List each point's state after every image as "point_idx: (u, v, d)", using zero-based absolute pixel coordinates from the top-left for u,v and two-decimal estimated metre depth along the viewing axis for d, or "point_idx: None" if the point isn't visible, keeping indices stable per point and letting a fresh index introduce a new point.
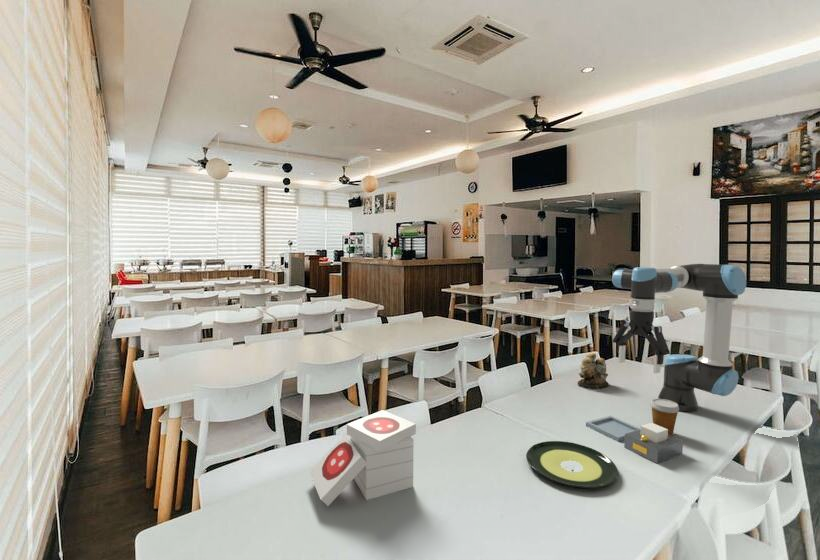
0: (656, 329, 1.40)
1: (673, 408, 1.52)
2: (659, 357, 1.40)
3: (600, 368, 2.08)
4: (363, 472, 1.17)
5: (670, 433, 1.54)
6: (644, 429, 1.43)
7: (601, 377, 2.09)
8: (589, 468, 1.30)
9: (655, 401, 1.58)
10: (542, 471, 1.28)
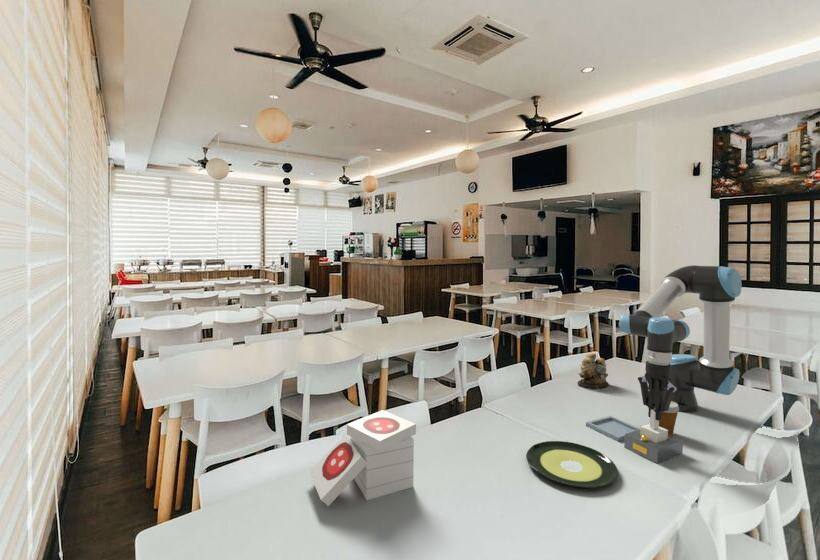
0: (671, 390, 1.35)
1: (673, 408, 1.52)
2: (657, 413, 1.40)
3: (600, 368, 2.08)
4: (363, 472, 1.17)
5: (670, 433, 1.54)
6: (644, 430, 1.43)
7: (601, 377, 2.09)
8: (589, 468, 1.30)
9: None
10: (542, 471, 1.28)
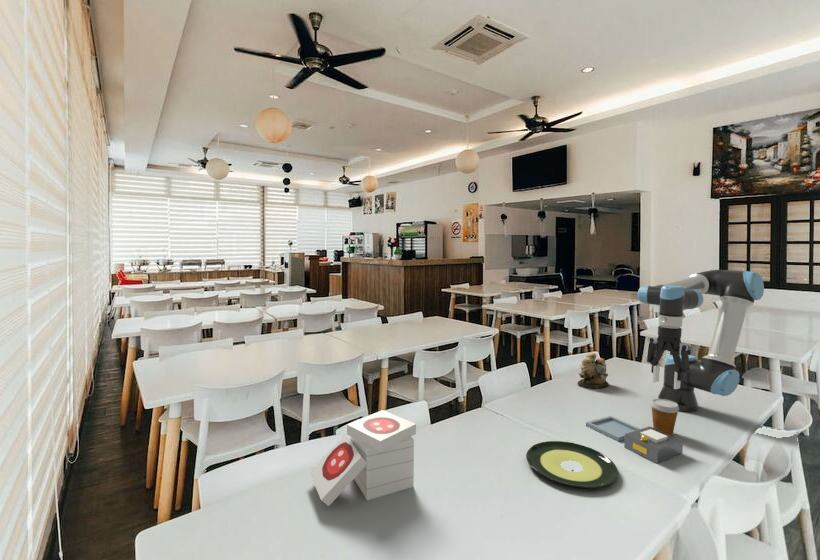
0: (684, 348, 1.48)
1: (673, 408, 1.52)
2: (679, 374, 1.50)
3: (600, 368, 2.08)
4: (363, 472, 1.17)
5: (670, 433, 1.54)
6: None
7: (601, 377, 2.09)
8: (589, 468, 1.30)
9: (655, 401, 1.58)
10: (542, 471, 1.28)
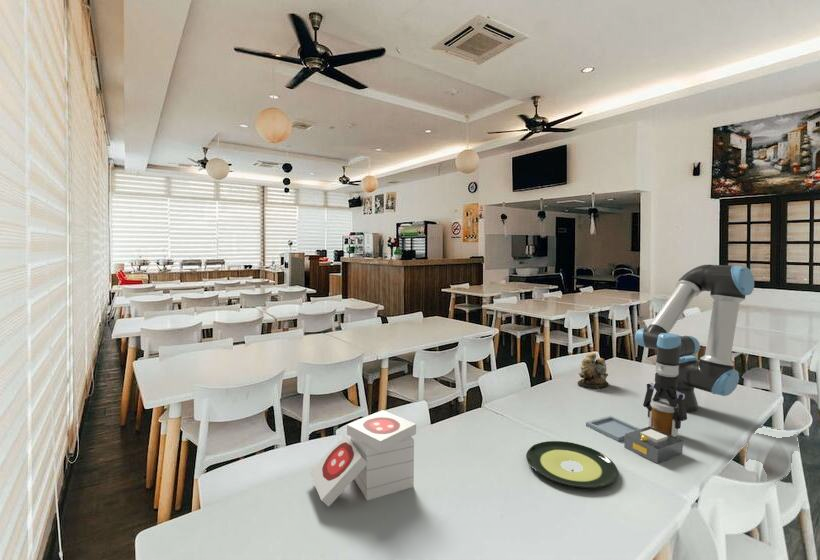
0: (680, 397, 1.49)
1: (673, 408, 1.52)
2: (677, 422, 1.51)
3: (600, 368, 2.08)
4: (363, 472, 1.17)
5: (670, 433, 1.54)
6: None
7: (601, 377, 2.09)
8: (589, 468, 1.30)
9: (655, 401, 1.58)
10: (542, 471, 1.28)
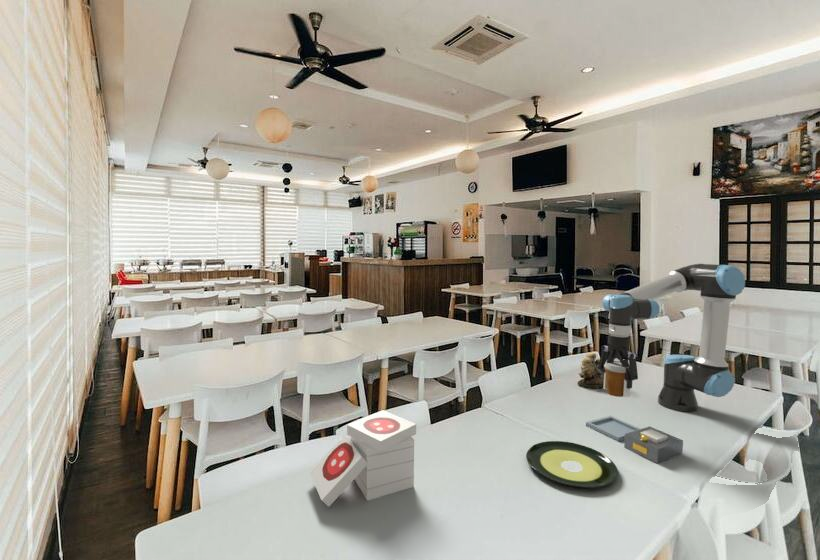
0: (631, 356, 1.50)
1: (624, 368, 1.53)
2: (628, 382, 1.52)
3: None
4: (363, 472, 1.17)
5: (622, 393, 1.55)
6: None
7: (601, 377, 2.09)
8: (589, 468, 1.30)
9: (609, 363, 1.59)
10: (542, 471, 1.28)
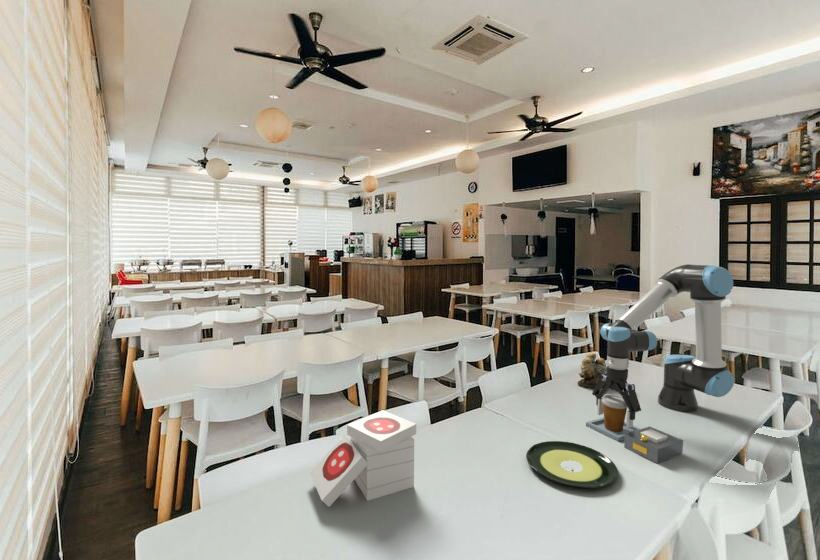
0: (629, 387, 1.51)
1: (622, 404, 1.54)
2: (631, 413, 1.52)
3: (600, 368, 2.08)
4: (364, 472, 1.16)
5: (620, 429, 1.56)
6: None
7: None
8: (589, 468, 1.30)
9: (606, 397, 1.61)
10: (542, 471, 1.28)
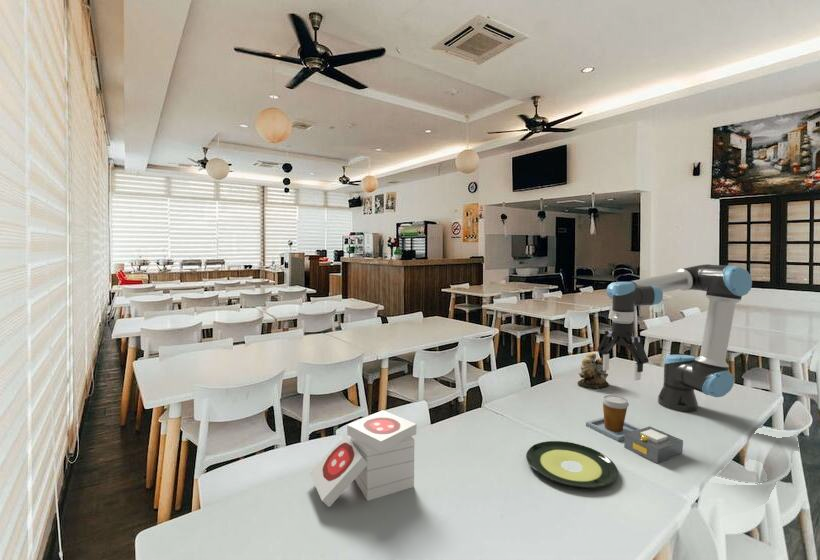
0: (636, 339, 1.52)
1: (622, 404, 1.54)
2: (639, 365, 1.52)
3: (600, 368, 2.08)
4: (364, 473, 1.16)
5: (620, 429, 1.56)
6: None
7: (601, 377, 2.09)
8: (589, 468, 1.30)
9: (606, 397, 1.61)
10: (542, 471, 1.28)
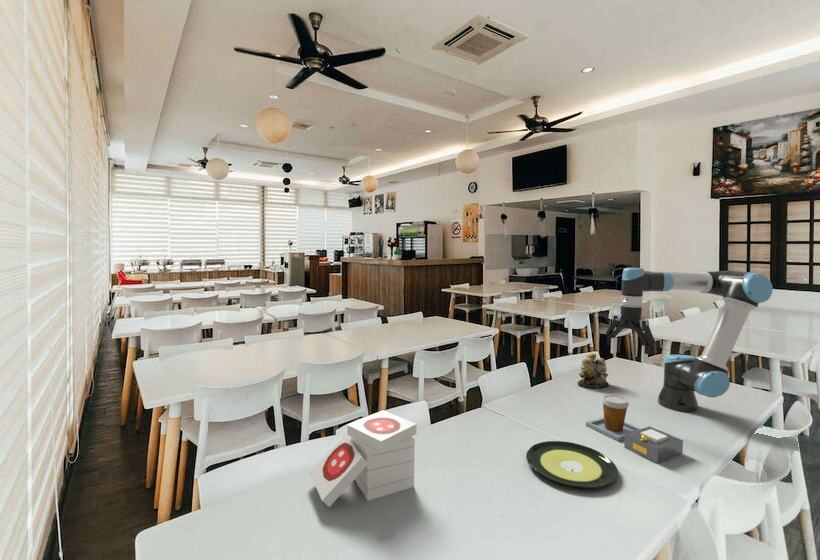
0: (643, 323, 1.58)
1: (622, 404, 1.54)
2: (646, 347, 1.58)
3: (600, 368, 2.08)
4: (364, 472, 1.16)
5: (620, 429, 1.56)
6: None
7: (601, 377, 2.09)
8: (589, 468, 1.30)
9: (606, 397, 1.61)
10: (542, 471, 1.28)
